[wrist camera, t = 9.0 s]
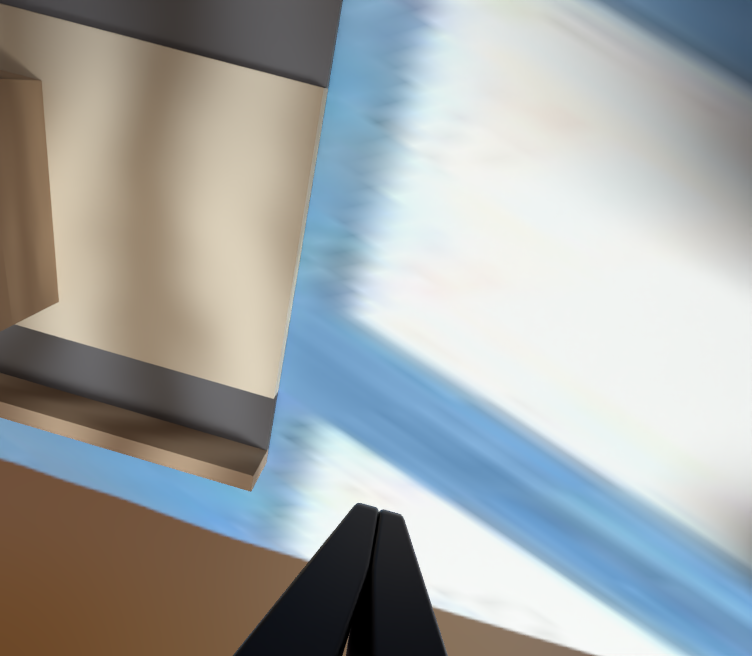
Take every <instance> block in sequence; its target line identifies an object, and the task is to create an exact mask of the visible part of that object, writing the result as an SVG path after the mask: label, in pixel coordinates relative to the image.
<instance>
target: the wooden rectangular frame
mask: <svg viewBox="0 0 752 656" xmlns="http://www.w3.org/2000/svg"><path fill="white" fill-rule="evenodd" d="M342 1H343V0H0V70H3V71H7V72H11V73H15V74H18V75H22V76H26V77H30V78H33V79H37V80H41V81H42V92H43V105H44V117H45V130H46V143H47V155H48V168H49V181H50V193H51V206H52V219H53V232H54V244H55V257H56V270H57V282H58V295H59V302H58V303H56V304H54V305H52V306H50V307H48V308H46V309H44V310H42V311H40V312H38V313H36V314H34V315H32V316H30V317H28V318H26V319H24V320H22V321H20V322H18V323H16V324H14V325H12V326H10V327H8V328H6V329H4V330H3V331H1V332H0V417H1V418H4V419H7V420H11V421H14V422H18V423H21V424H24V425H28V426H31V427H34V428H38V429H41V430H45V431H48V432H51V433H55V434H58V435H62V436H65V437H68V438H72V439H75V440H78V441H82V442H85V443H89V444H92V445H95V446H99V447H102V448H105V449H109V450H112V451H116V452H119V453H122V454H126V455H129V456H132V457H136V458H139V459H143V460H146V461H149V462H153V463H156V464H159V465H163V466H166V467H170V468H173V469H176V470H180V471H183V472H186V473H190V474H193V475H197V476H200V477H203V478H207V479H210V480H214V481H217V482H220V483H224V484H227V485H230V486H234V487H237V488H241V489H244V490H247V491H252V489H253V487H254V485H255V483H256V481H257V479H258V478H259V476H260V474H261V472H262V470H263V468H264V466H265V464H266V461H267V455H268V449H269V443H270V437H271V431H272V425H273V419H274V413H275V407H276V401H277V395H278V389H279V382H280V376H281V370H282V364H283V358H284V352H285V346H286V340H287V334H288V328H289V322H290V316H291V310H292V304H293V298H294V292H295V286H296V280H297V274H298V268H299V262H300V255H301V249H302V243H303V237H304V231H305V225H306V219H307V213H308V207H309V201H310V195H311V189H312V183H313V177H314V171H315V165H316V159H317V153H318V147H319V141H320V135H321V128H322V122H323V116H324V110H325V104H326V98H327V92H328V86H329V80H330V74H331V68H332V62H333V56H334V50H335V44H336V38H337V32H338V26H339V20H340V14H341V7H342Z"/></svg>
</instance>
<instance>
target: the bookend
mask: <svg viewBox="0 0 752 656" xmlns="http://www.w3.org/2000/svg"><path fill="white" fill-rule="evenodd" d="M58 302H59V295H58V282H57V270H56V257H55V244H54V232H53V219H52V206H51V193H50V181H49V168H48V155H47V143H46V130H45V117H44V105H43V92H42V81H41V80H37V79H33V78H30V77H26V76H22V75H18V74H15V73H11V72H7V71H3V70H0V332H1V331H3V330H4V329H6V328H8V327H10V326H12V325H14V324H16V323H18V322H20V321H22V320H24V319H26V318H28V317H30V316H32V315H34V314H36V313H38V312H40V311H42V310H44V309H46V308H48V307H50V306H52V305H54V304H56V303H58Z"/></svg>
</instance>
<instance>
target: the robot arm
mask: <svg viewBox="0 0 752 656" xmlns="http://www.w3.org/2000/svg"><path fill="white" fill-rule="evenodd" d="M348 636H349V639H348ZM347 639H348V645H347V652H346V656H448V655H447V652H446V649H445V646H444V643H443V640H442V636H441V633H440V630H439V627H438V624H437V621H436V618H435V615H434V612H433V608H432V605H431V602H430V599H429V596H428V592H427V589H426V586H425V583H424V580H423V577H422V574H421V571H420V567H419V564H418V561H417V558H416V555H415V552H414V549H413V545H412V542H411V539H410V536H409V533H408V530H407V527H406V524H405V520H404V518H403V516H402V515H401V514H398V513H394V512H391V511H387V510H381V511H380V512H379V511H378V509H377V508H376V507H373V506H369V505H366V504H362V503H357V504H356V505H354V507H353V508H352V509H351V510H350V511H349V513H348V514H347V515H346V516H345V518H344V519H343V520H342V521H341V523H340V524H339V525H338V526H337V528H336V529H335V530H334V531H333V532H332V534H331V535H330V536H329V537H328V539H327V540H326V541H325V542H324V544H323V545H322V546H321V547H320V549H319V550H318V551H317V552H316V554H315V555H314V556H313V557H312V558H311V560H310V561H309V562H308V563H307V565H306V566H305V567H304V568H303V570H302V571H301V572H300V573H299V575H298V576H297V577H296V578H295V579H294V581H293V582H292V583H291V585H290V586H289V587H288V588H287V589H286V591H285V592H284V593H283V594H282V596H281V597H280V598H279V599H278V601H277V602H276V603H275V604H274V606H273V607H272V608H271V609H270V610H269V612H268V613H267V614H266V615H265V617H264V618H263V619H262V620H261V622H260V623H259V624H258V625H257V626H256V628H255V629H254V630H253V631H252V633H251V634H250V635H249V636H248V638H247V639H246V640H245V641H244V643H243V644H242V645H241V646H240V647H239V649H238V650H237V651H236V653H235V654H234V655H233V656H342V655H343V652H344V648H345V645H346V642H347Z"/></svg>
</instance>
